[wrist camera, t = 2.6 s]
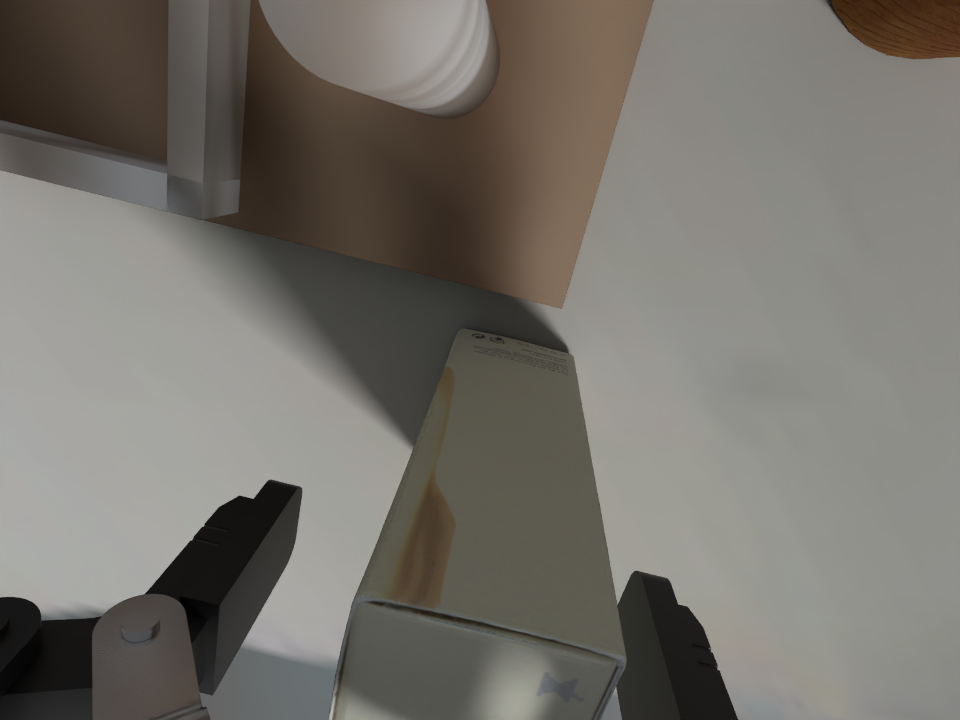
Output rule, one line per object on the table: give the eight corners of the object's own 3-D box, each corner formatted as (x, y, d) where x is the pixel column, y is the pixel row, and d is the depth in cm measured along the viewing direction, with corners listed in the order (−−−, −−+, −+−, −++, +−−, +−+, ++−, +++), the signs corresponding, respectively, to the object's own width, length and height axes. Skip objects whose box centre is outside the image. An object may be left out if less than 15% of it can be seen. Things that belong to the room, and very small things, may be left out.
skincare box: (457, 322, 19) (347, 575, 8) (577, 351, 19) (643, 648, 8) (424, 473, 22) (303, 836, 10) (531, 499, 21) (530, 891, 10)
